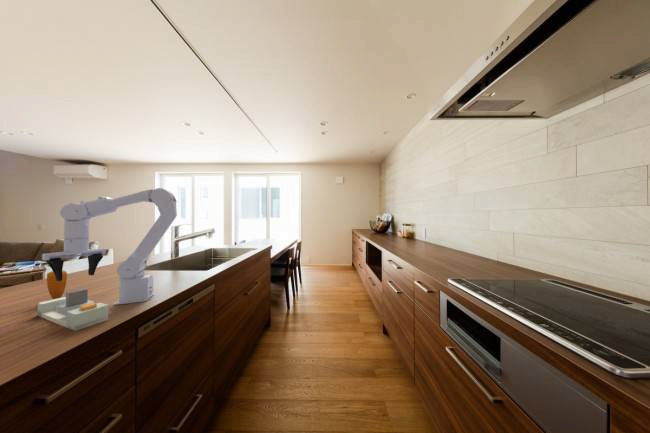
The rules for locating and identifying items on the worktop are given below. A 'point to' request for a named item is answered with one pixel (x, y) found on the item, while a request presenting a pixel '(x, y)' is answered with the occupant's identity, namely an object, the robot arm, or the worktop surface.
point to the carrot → (56, 284)
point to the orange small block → (88, 306)
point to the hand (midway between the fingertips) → (76, 277)
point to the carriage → (74, 301)
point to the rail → (72, 314)
